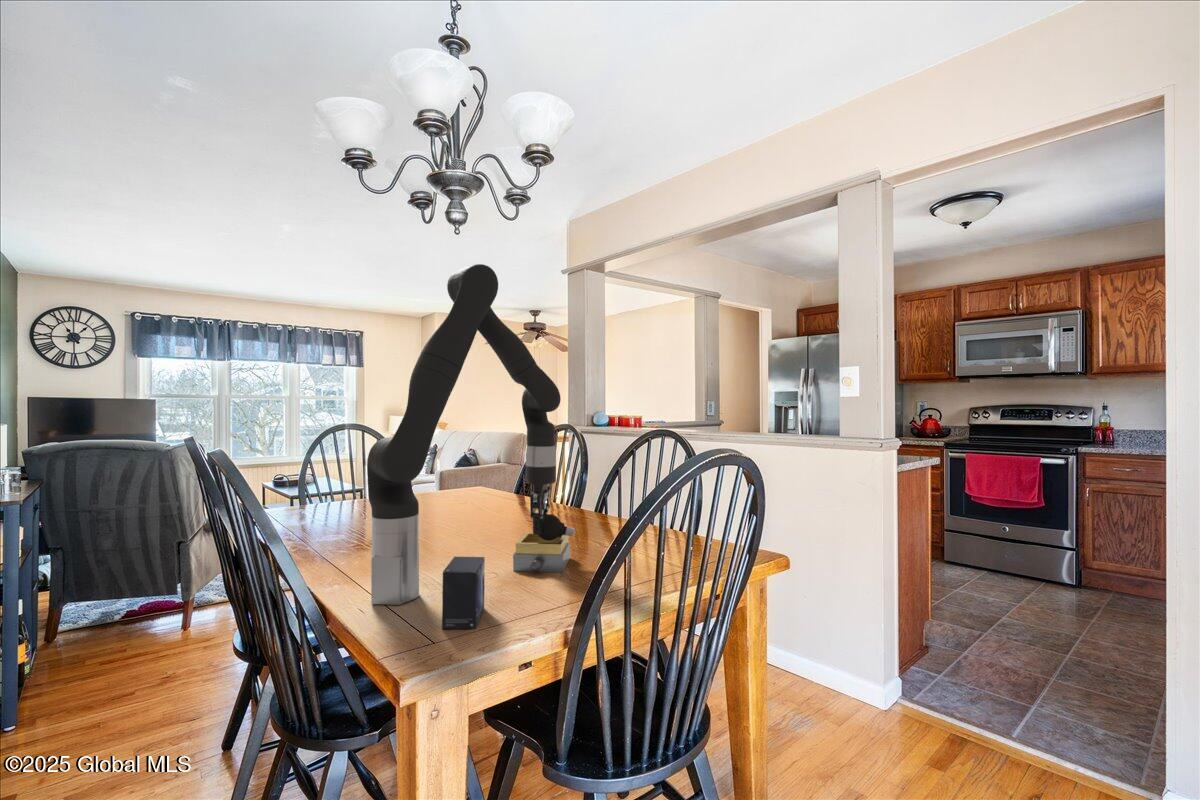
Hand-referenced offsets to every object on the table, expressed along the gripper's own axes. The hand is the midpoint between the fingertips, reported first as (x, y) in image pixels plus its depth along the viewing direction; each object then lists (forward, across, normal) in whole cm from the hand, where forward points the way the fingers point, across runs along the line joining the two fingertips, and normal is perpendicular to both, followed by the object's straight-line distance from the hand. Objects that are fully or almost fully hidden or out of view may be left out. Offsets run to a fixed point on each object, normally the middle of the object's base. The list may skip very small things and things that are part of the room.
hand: (540, 530), depth 143 cm
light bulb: (+2, 0, -4) cm, 4 cm away
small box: (+9, -36, +7) cm, 38 cm away
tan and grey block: (+8, -2, -1) cm, 9 cm away
